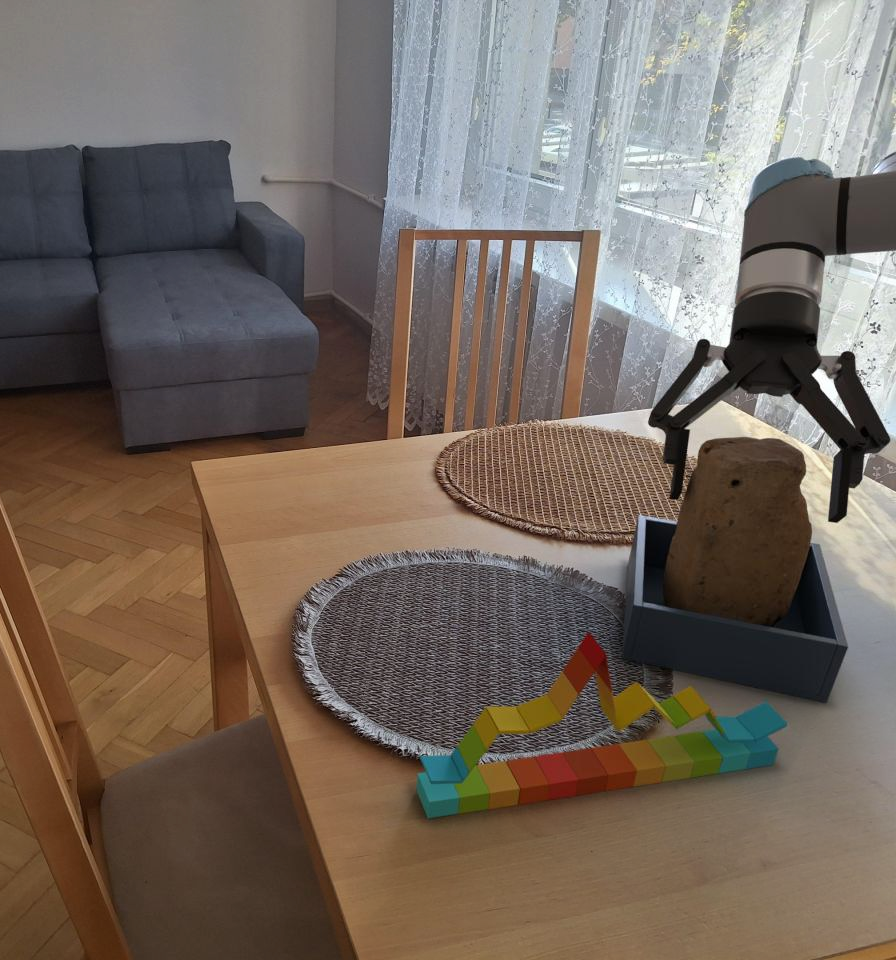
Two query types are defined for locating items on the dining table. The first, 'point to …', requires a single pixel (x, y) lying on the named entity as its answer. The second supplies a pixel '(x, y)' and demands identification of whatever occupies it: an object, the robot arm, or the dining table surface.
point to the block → (740, 532)
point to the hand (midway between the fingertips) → (753, 507)
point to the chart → (600, 768)
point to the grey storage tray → (732, 627)
